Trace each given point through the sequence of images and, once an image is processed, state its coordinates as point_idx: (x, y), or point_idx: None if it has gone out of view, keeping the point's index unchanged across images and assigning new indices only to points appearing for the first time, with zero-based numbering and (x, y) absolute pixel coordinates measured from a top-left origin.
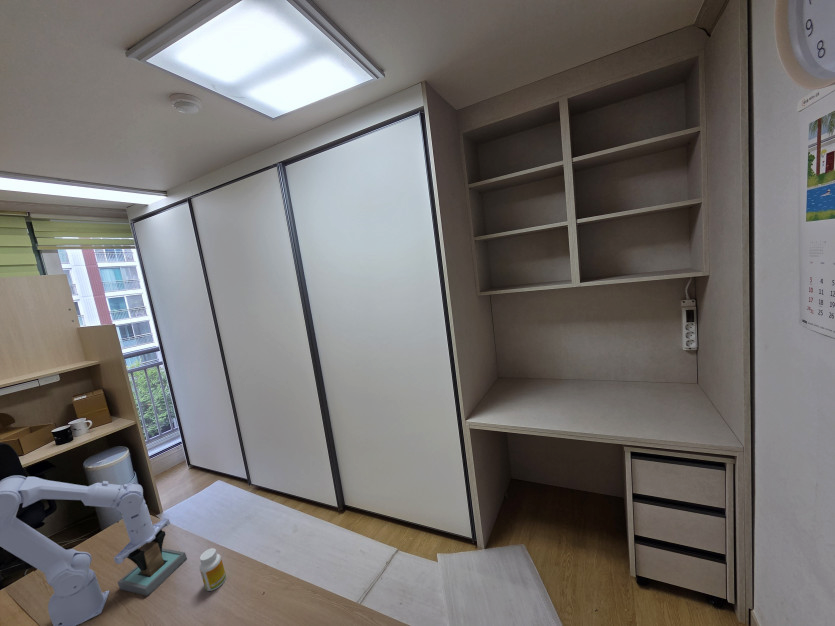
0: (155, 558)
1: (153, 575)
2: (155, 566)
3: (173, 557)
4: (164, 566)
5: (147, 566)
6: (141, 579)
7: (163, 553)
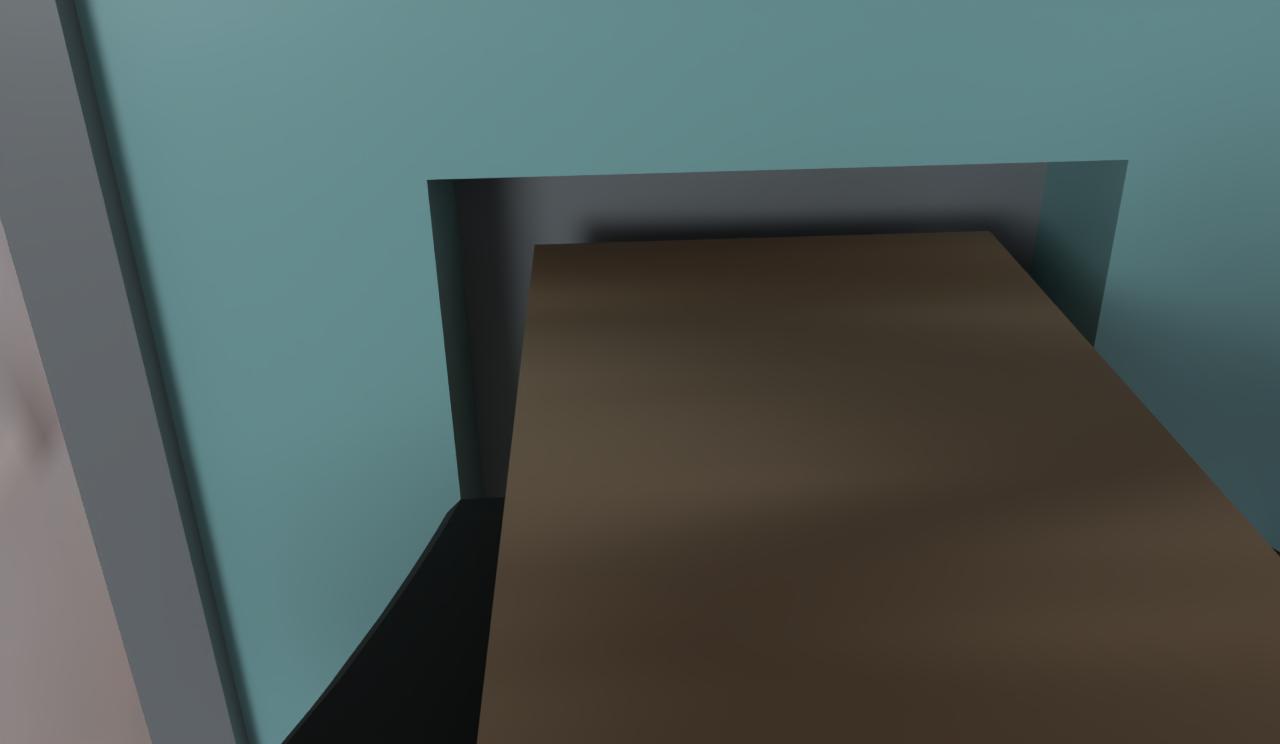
0: (809, 482)
1: (1049, 95)
2: (837, 314)
3: (254, 107)
4: (660, 52)
5: (1162, 462)
6: (1196, 383)
7: (284, 654)
